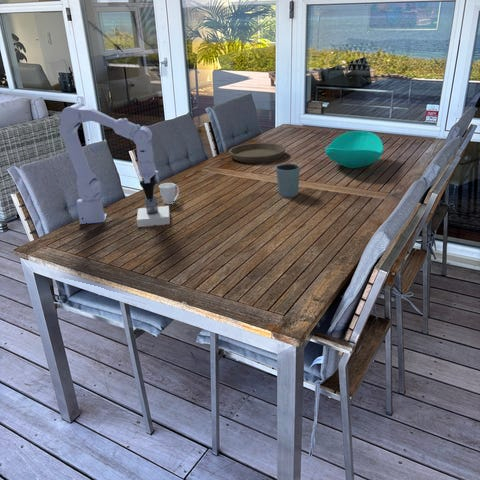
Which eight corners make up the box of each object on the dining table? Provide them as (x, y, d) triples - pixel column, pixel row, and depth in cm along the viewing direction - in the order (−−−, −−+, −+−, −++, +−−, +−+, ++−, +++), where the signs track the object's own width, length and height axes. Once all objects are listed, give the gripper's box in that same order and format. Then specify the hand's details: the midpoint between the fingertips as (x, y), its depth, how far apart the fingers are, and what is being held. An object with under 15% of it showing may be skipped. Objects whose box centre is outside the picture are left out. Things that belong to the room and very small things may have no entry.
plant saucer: (220, 155, 270) (220, 147, 268) (268, 147, 281) (268, 139, 279) (244, 168, 244) (243, 159, 242) (296, 159, 255) (296, 150, 253)
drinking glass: (298, 197, 201) (298, 170, 196) (274, 197, 203) (274, 169, 198) (300, 190, 210) (300, 163, 205) (277, 189, 212) (277, 163, 207)
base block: (137, 227, 179) (136, 219, 178) (139, 215, 190) (138, 208, 189) (169, 224, 181) (169, 216, 179) (169, 212, 191) (168, 205, 190)
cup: (157, 204, 201) (155, 186, 197) (173, 197, 208) (171, 179, 204) (169, 207, 197) (167, 189, 193) (185, 200, 204) (183, 182, 201)
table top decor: (376, 180, 217) (378, 151, 212) (316, 175, 227) (317, 148, 221) (386, 157, 250) (388, 132, 245) (333, 154, 260) (334, 129, 254)
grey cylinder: (147, 215, 182) (145, 200, 179) (146, 211, 186) (144, 196, 183) (159, 213, 183) (157, 198, 180) (157, 209, 187) (156, 195, 184)
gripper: (156, 165, 170) (160, 201, 175) (157, 154, 183) (161, 188, 188) (136, 166, 169) (141, 202, 175) (138, 156, 182) (142, 190, 188)
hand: (150, 195), depth 181 cm, fingers open, 7 cm apart
